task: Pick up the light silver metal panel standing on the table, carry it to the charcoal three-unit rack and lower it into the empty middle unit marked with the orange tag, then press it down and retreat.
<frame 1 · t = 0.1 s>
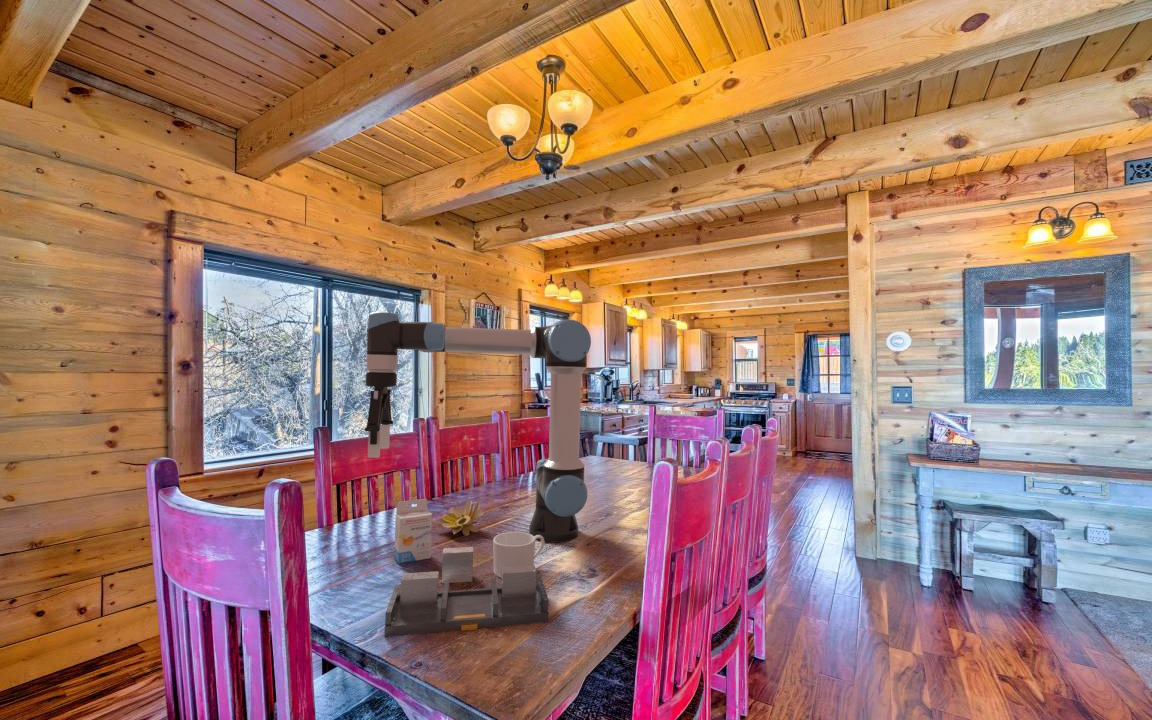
hand: (379, 452, 125), 28 cm above the table, fingers open, 13 cm apart
panel: (457, 579, 115), on the table
decorative flower: (458, 532, 149), on the table
mug: (519, 571, 121), on the table
ink box: (412, 558, 127), on the table
rack: (469, 612, 99), on the table
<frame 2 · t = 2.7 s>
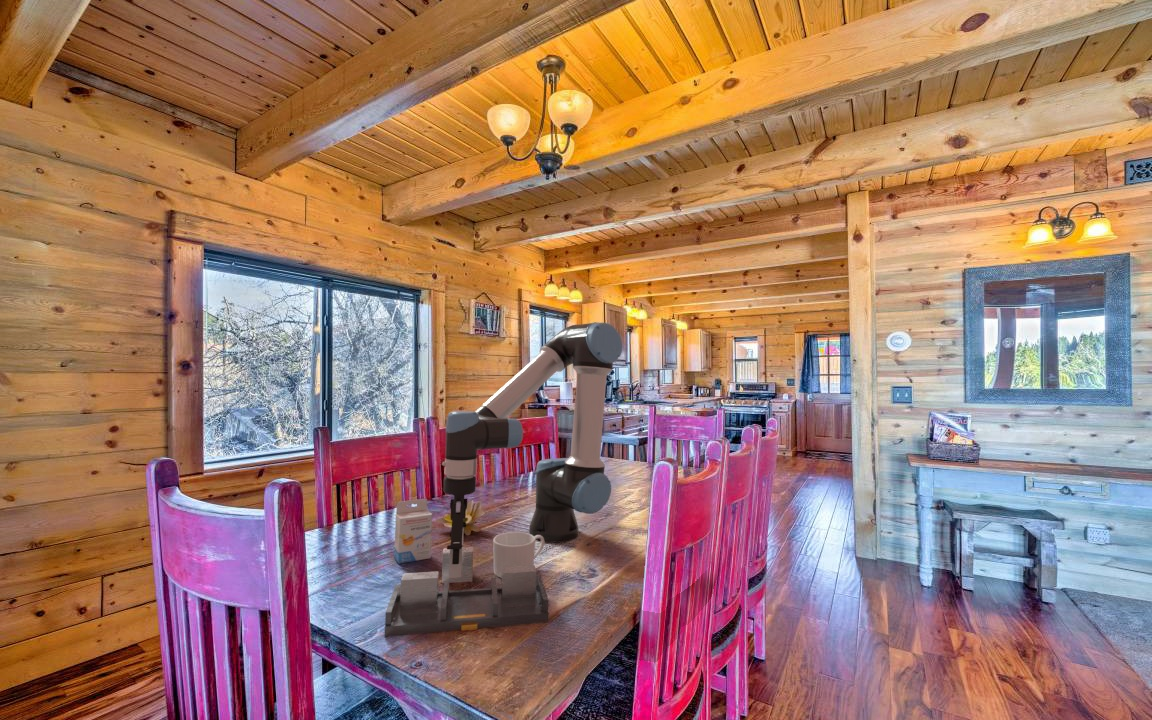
hand: (456, 565, 115), 3 cm above the table, fingers open, 13 cm apart
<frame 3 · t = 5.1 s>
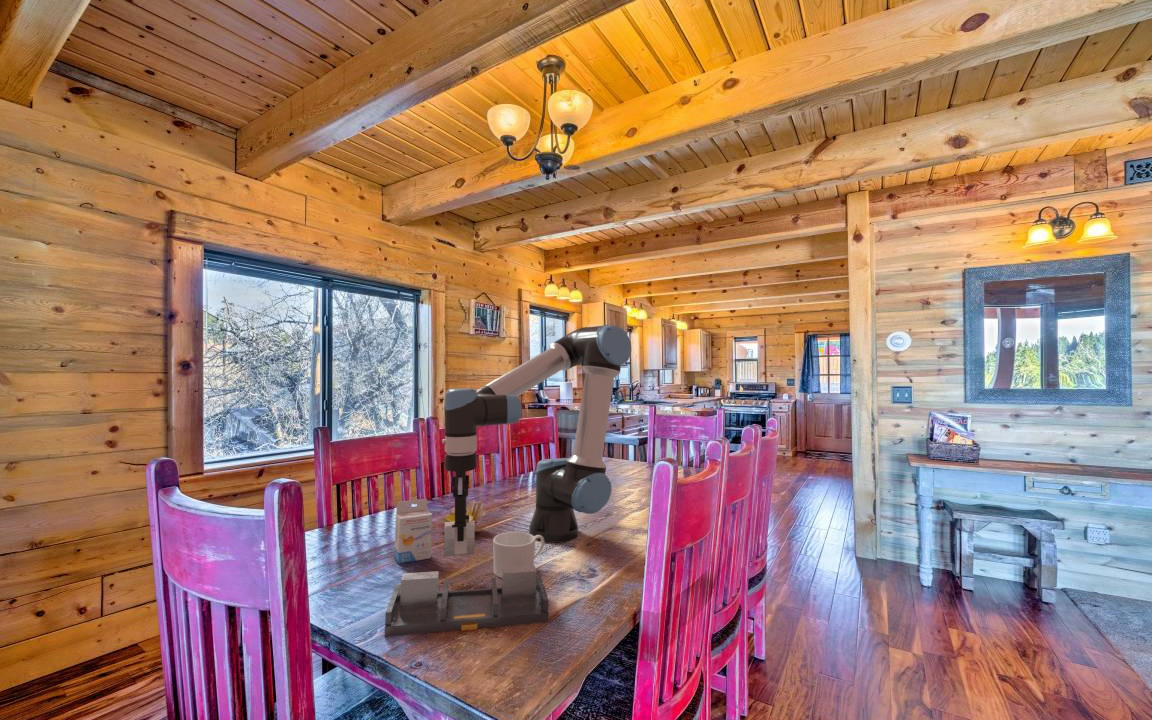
hand: (460, 550, 115), 7 cm above the table, fingers closed on panel, 3 cm apart
panel: (459, 552, 115), point 6 cm above the table, touching gripper
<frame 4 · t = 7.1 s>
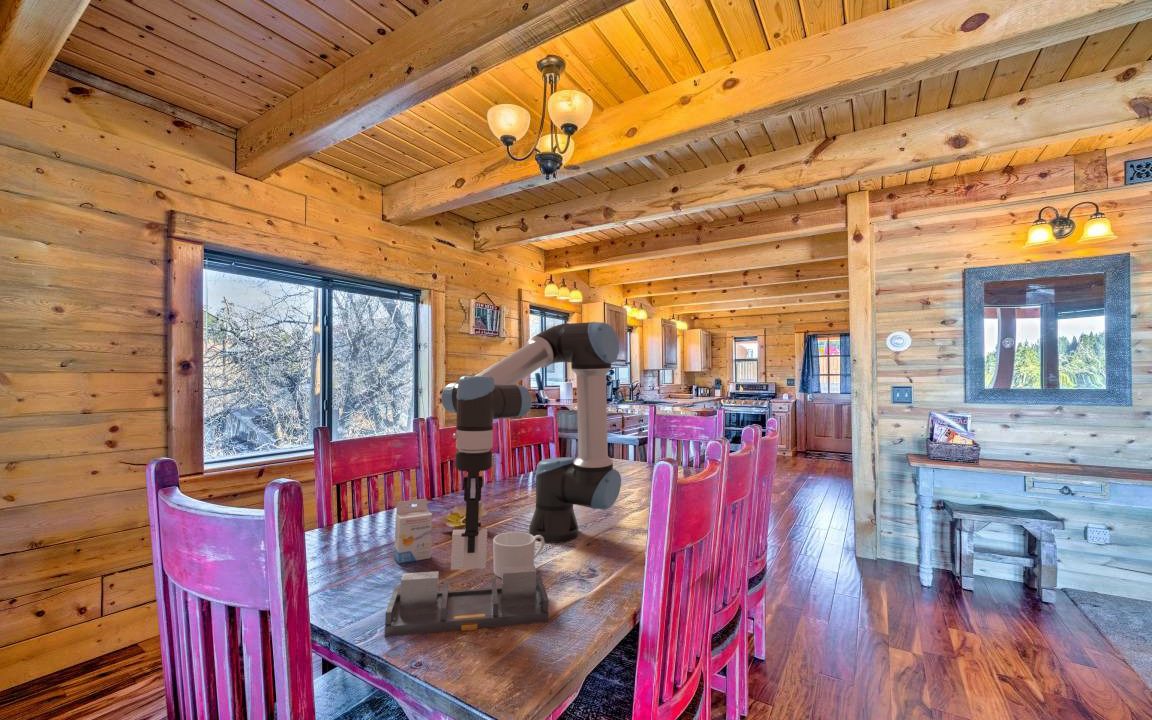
hand: (470, 563, 99), 10 cm above the table, fingers closed on panel, 3 cm apart
panel: (468, 565, 99), point 10 cm above the table, touching gripper
when the fingers open (2 cm above the table, at t = 9.0 s): panel stays where it is, resting on rack.
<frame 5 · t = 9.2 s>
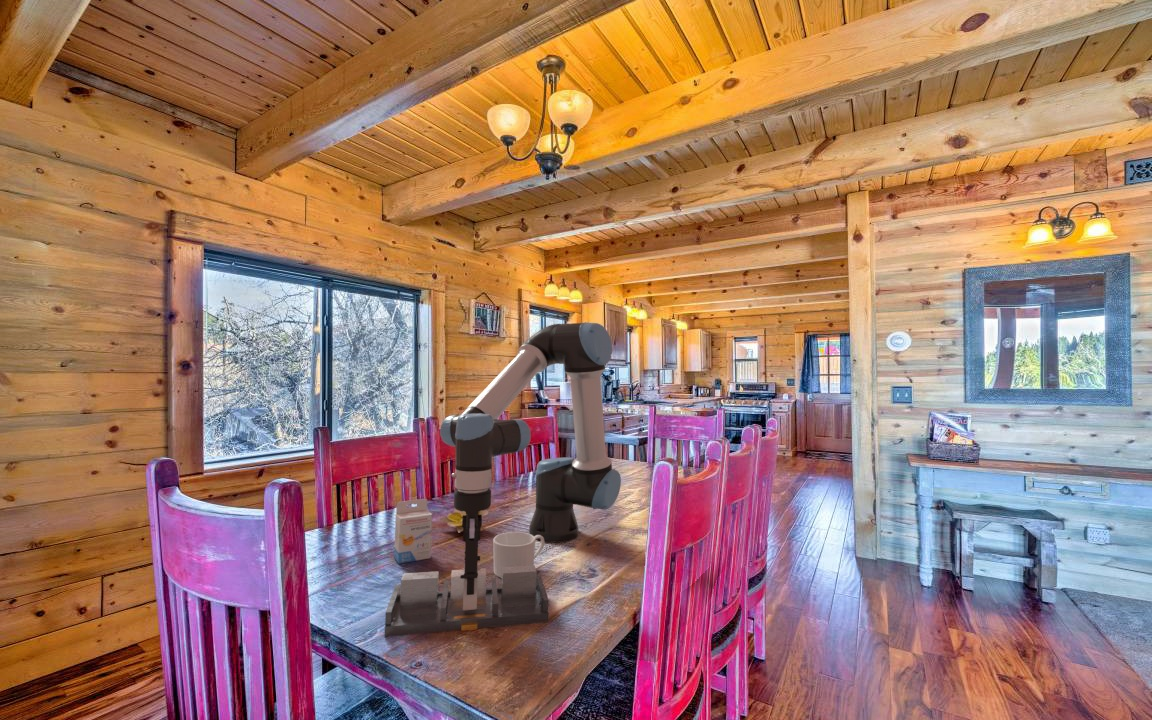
hand: (469, 600, 99), 2 cm above the table, fingers open, 6 cm apart
panel: (467, 606, 99), point 1 cm above the table, touching rack
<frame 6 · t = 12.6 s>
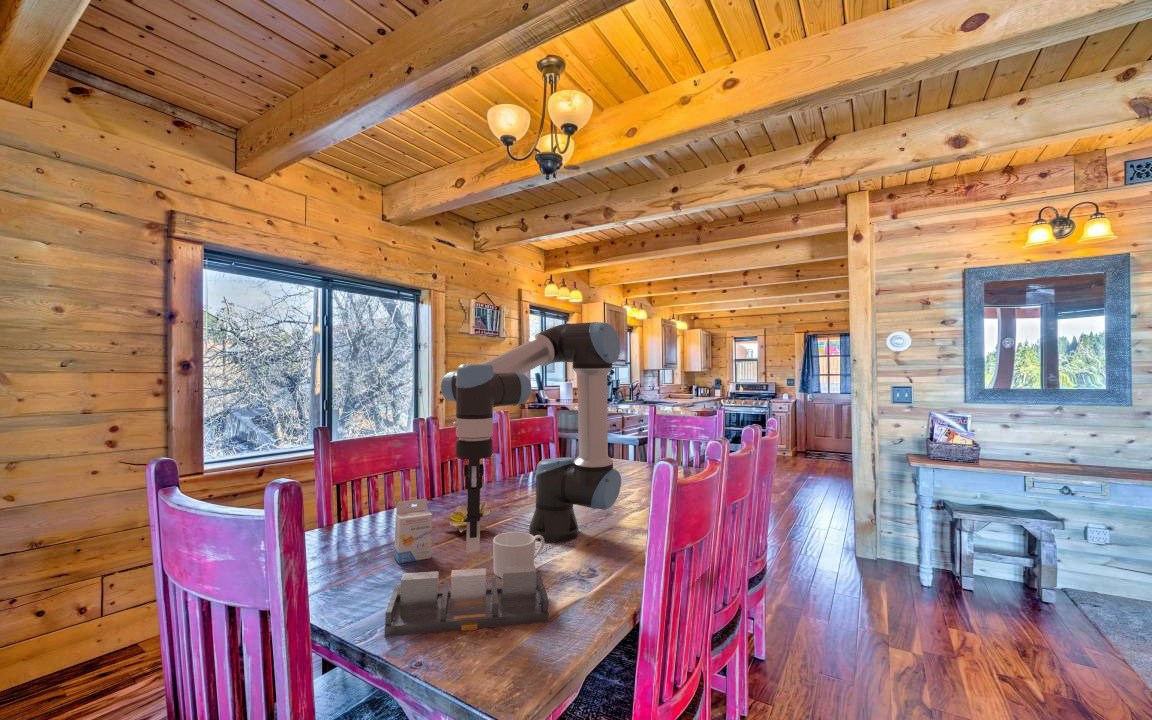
hand: (473, 550, 100), 12 cm above the table, fingers closed
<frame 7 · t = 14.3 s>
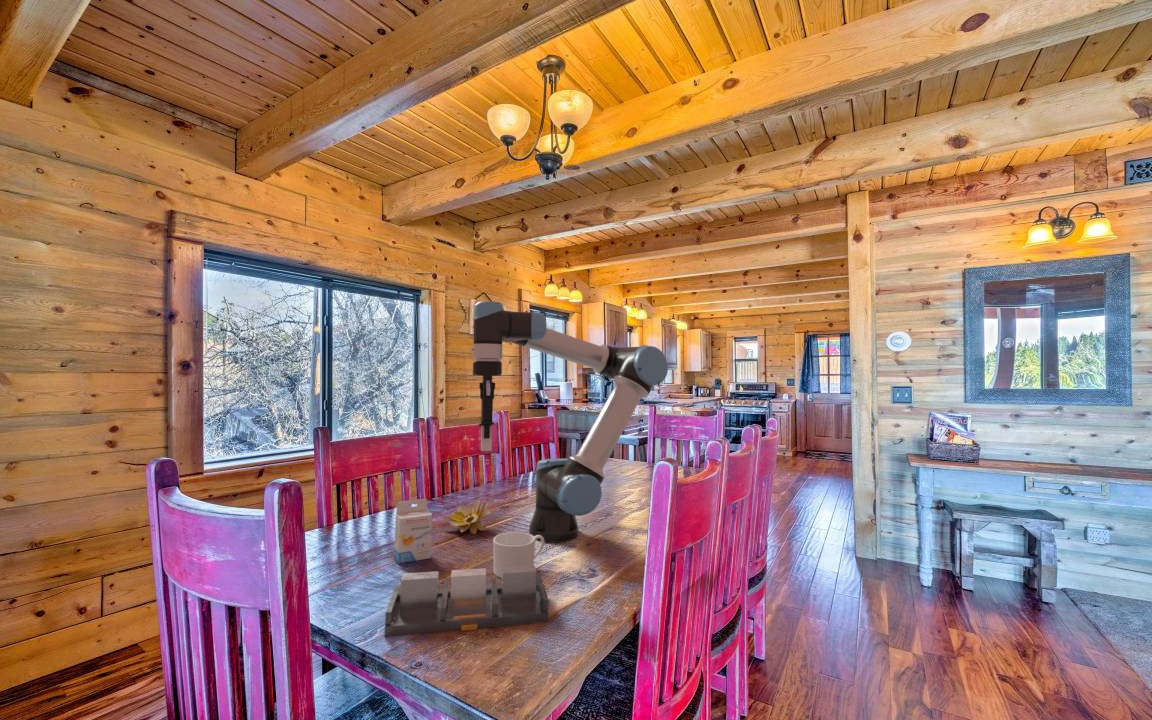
hand: (486, 450, 126), 29 cm above the table, fingers closed
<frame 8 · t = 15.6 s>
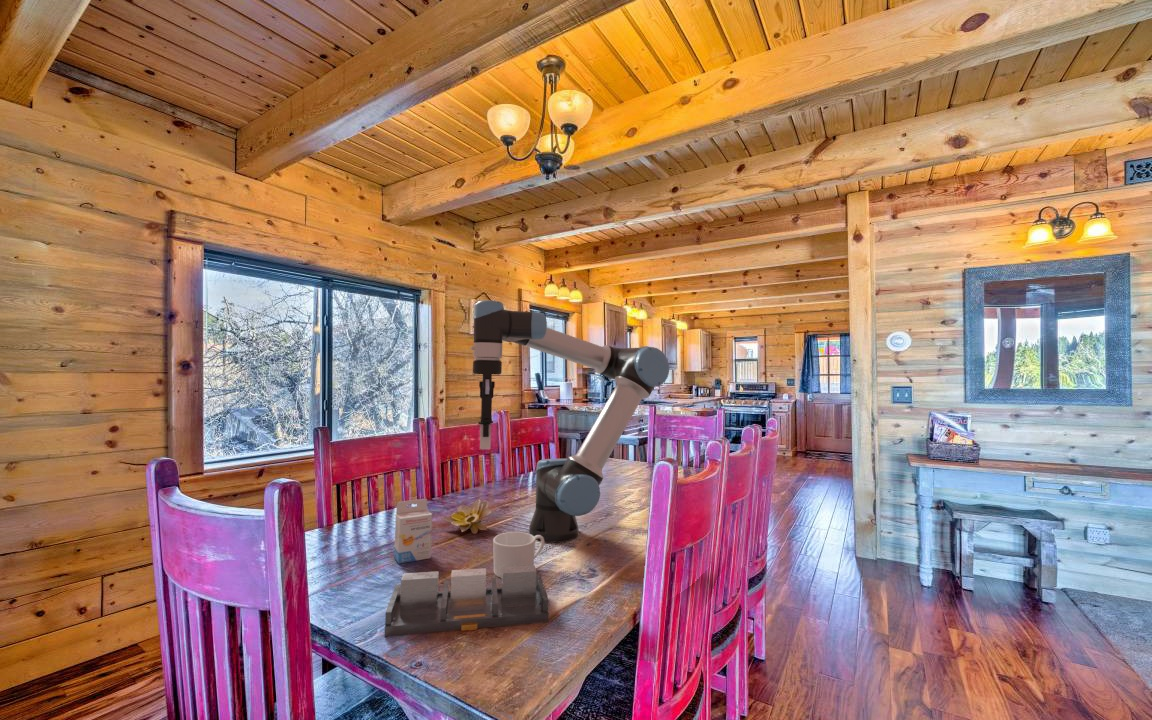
hand: (485, 448, 126), 29 cm above the table, fingers closed
at the end: panel inside the target area on the rack (0.4 cm from its centre), point 1.2 cm above the rack's base; panel tilted 0°; the gripper is holding nothing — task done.
